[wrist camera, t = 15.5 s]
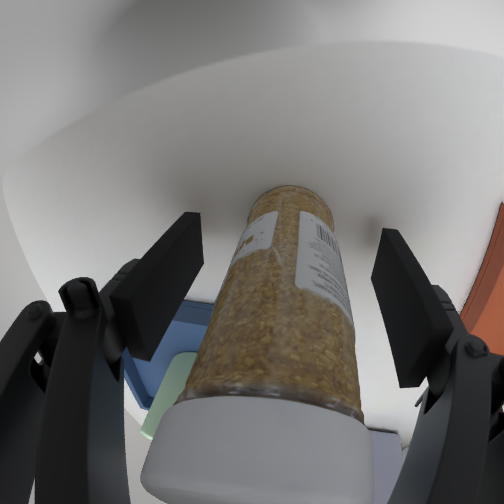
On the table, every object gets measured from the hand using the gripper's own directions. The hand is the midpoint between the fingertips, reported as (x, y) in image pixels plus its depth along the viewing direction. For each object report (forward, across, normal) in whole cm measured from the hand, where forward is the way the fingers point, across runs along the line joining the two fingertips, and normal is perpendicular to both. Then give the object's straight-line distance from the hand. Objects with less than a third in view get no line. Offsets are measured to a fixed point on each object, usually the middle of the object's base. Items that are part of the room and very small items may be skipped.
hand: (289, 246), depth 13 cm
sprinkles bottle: (+3, 0, 0) cm, 3 cm away
